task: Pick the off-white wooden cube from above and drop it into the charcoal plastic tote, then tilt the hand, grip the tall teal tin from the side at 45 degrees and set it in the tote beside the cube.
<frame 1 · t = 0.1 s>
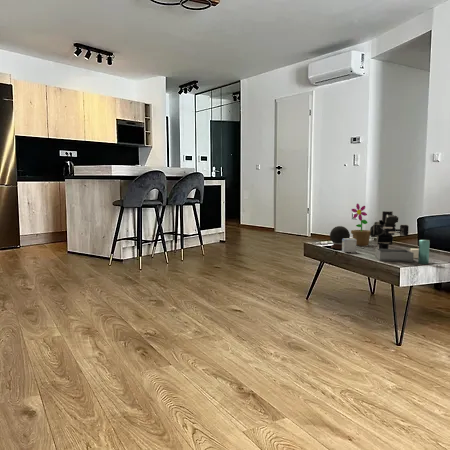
hand: (394, 231, 232), 17 cm above the table, tool horizontal, fingers open, 9 cm apart
black round ball shape: (339, 248, 286), on the table
teal tin: (423, 263, 227), on the table
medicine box: (348, 252, 266), on the table
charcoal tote: (393, 259, 239), on the table
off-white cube: (415, 257, 247), on the table
flowerpot: (360, 245, 303), on the table
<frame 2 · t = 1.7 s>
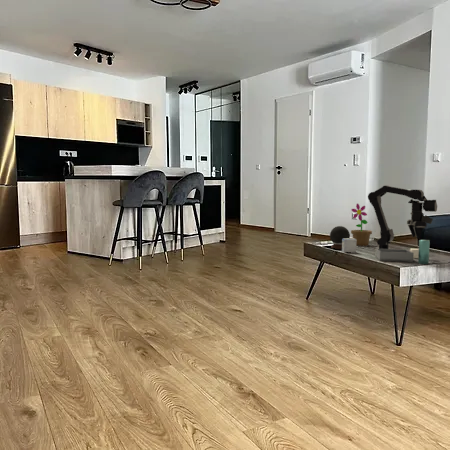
hand: (415, 237, 246), 12 cm above the table, tool pointing down, fingers open, 9 cm apart
nothing on the table moved.
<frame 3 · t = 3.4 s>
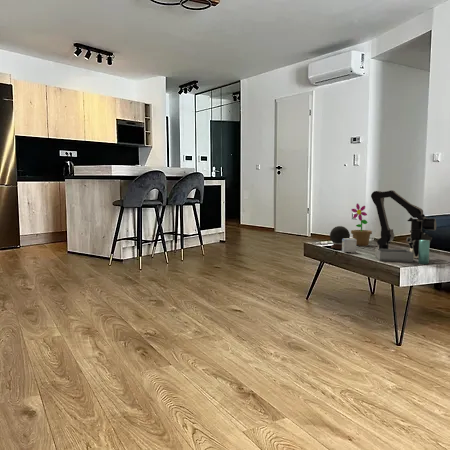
hand: (415, 255, 247), 1 cm above the table, tool pointing down, fingers closed on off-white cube, 5 cm apart
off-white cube: (415, 257, 247), on the table, touching gripper
everything else where it was.
when the fingers open (3 cm above the table, at t = 8.2 s): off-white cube drops 1 cm, resting on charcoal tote.
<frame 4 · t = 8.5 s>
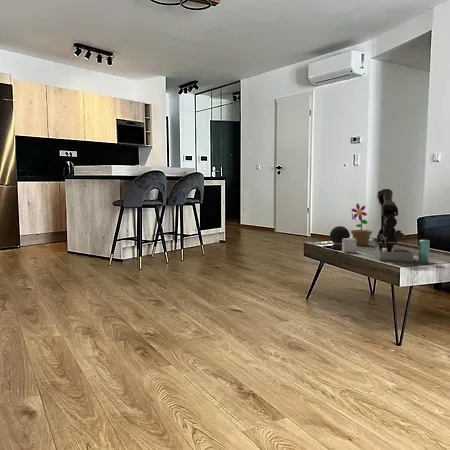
hand: (387, 253, 239), 3 cm above the table, tool pointing down, fingers open, 8 cm apart
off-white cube: (387, 257, 240), point 1 cm above the table, touching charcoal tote
everything else where it was.
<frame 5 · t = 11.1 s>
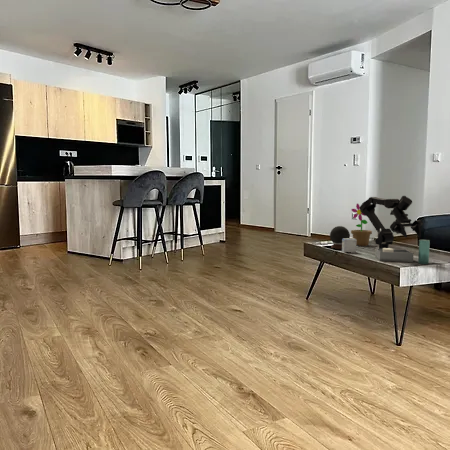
hand: (413, 236, 234), 13 cm above the table, tool tilted 45°, fingers open, 9 cm apart
nothing on the table moved.
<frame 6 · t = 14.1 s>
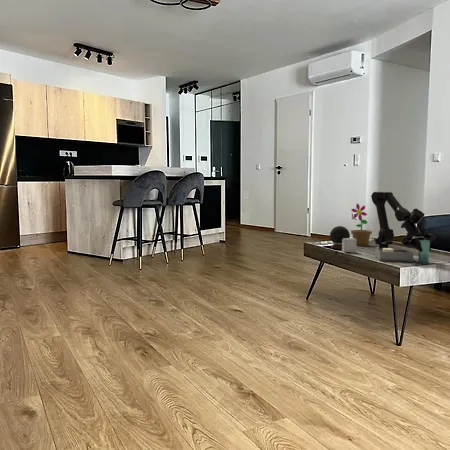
hand: (425, 251, 225), 7 cm above the table, tool tilted 45°, fingers closed on teal tin, 5 cm apart
teal tin: (423, 263, 227), on the table, touching gripper
everything else where it was.
when the fingers open (9 cm above the table, at t = 17.7 s): teal tin drops 1 cm, resting on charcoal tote.
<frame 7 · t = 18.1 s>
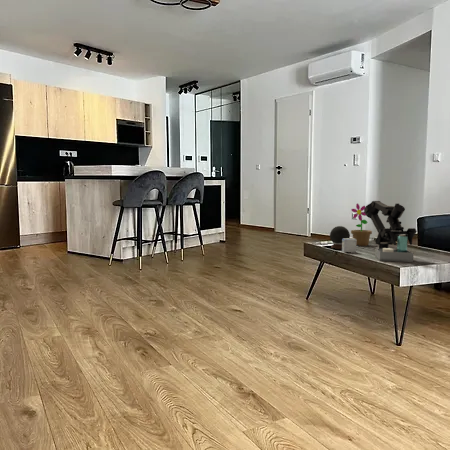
hand: (403, 244, 234), 9 cm above the table, tool tilted 45°, fingers open, 9 cm apart
teal tin: (401, 258, 236), point 1 cm above the table, touching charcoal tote
everything else where it was.
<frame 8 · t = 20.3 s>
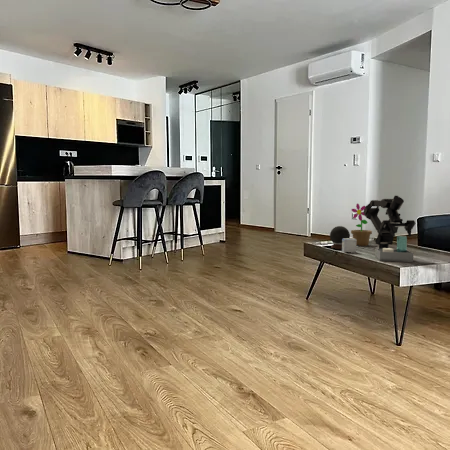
hand: (402, 236, 235), 14 cm above the table, tool tilted 45°, fingers open, 9 cm apart
nothing on the table moved.
at the end: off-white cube inside the target area on the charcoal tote (3.2 cm from its centre), point 1.0 cm above the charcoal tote's base; teal tin inside the target area on the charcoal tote (4.4 cm from its centre), point 1.0 cm above the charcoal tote's base; the gripper is holding nothing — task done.
